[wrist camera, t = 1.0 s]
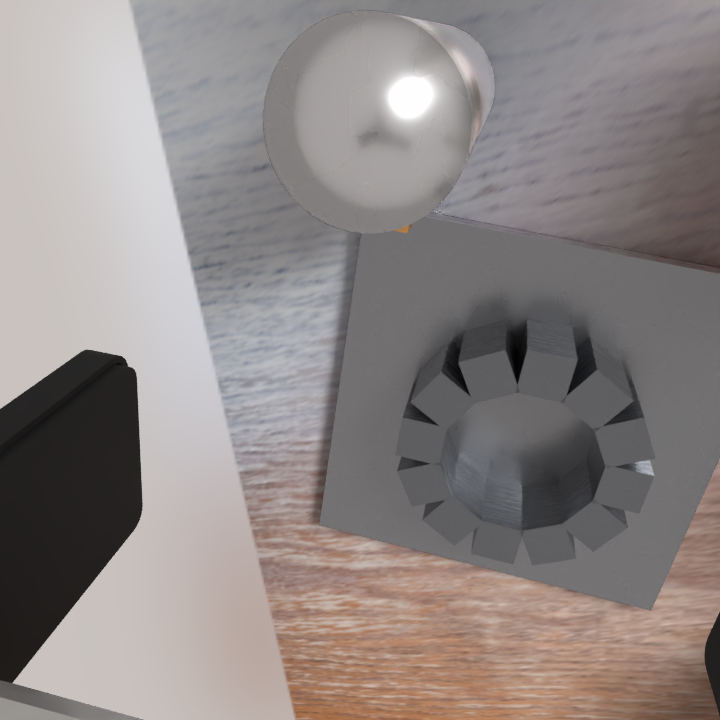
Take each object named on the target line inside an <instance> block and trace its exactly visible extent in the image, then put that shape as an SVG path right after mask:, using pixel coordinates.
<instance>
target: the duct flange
mask: <svg viewBox="0 0 720 720" xmlns="http://www.w3.org/2000/svg"><path fill="white" fill-rule="evenodd" d="M719 459H720V268H718V267H712V266H707V265H702V264H697V263H692V262H686V261H681V260H676V259H671V258H666V257H660V256H655V255H650V254H645V253H640V252H634V251H629V250H624V249H619V248H614V247H608V246H603V245H598V244H593V243H587V242H582V241H577V240H572V239H567V238H561V237H556V236H551V235H546V234H541V233H535V232H530V231H525V230H520V229H515V228H509V227H504V226H499V225H494V224H489V223H483V222H478V221H473V220H468V219H463V218H457V217H452V216H447V215H442V214H436V213H431V212H430V213H428V214H427V215H426V216H424V217H423V218H421V219H419V220H418V221H416V222H414V224H413V226H412V227H411V229H410V231H409V232H408V233H403V232H398V231H389V232H383V233H361V237H360V244H359V251H358V258H357V265H356V272H355V279H354V286H353V293H352V300H351V307H350V314H349V321H348V328H347V335H346V342H345V349H344V356H343V363H342V370H341V376H340V383H339V390H338V397H337V404H336V411H335V418H334V425H333V432H332V439H331V446H330V453H329V460H328V467H327V474H326V481H325V488H324V495H323V502H322V509H321V516H320V523H319V525H321V526H325V527H329V528H333V529H337V530H341V531H344V532H348V533H352V534H356V535H360V536H364V537H368V538H372V539H375V540H379V541H383V542H387V543H391V544H395V545H399V546H402V547H406V548H410V549H414V550H418V551H422V552H426V553H430V554H433V555H437V556H441V557H445V558H449V559H453V560H457V561H461V562H464V563H468V564H472V565H476V566H480V567H484V568H488V569H492V570H495V571H499V572H503V573H507V574H511V575H515V576H519V577H523V578H526V579H530V580H534V581H538V582H542V583H546V584H550V585H554V586H557V587H561V588H565V589H569V590H573V591H577V592H581V593H585V594H588V595H592V596H596V597H600V598H604V599H608V600H612V601H616V602H619V603H623V604H627V605H631V606H635V607H639V608H643V609H647V610H650V611H651V610H652V607H653V605H654V603H655V601H656V599H657V596H658V594H659V592H660V590H661V587H662V585H663V583H664V581H665V579H666V576H667V574H668V572H669V570H670V567H671V565H672V563H673V561H674V559H675V556H676V554H677V552H678V550H679V547H680V545H681V543H682V541H683V539H684V536H685V534H686V532H687V530H688V527H689V525H690V523H691V521H692V519H693V516H694V514H695V512H696V510H697V507H698V505H699V503H700V501H701V499H702V496H703V494H704V492H705V490H706V487H707V485H708V483H709V481H710V479H711V476H712V474H713V472H714V470H715V467H716V465H717V463H718V461H719Z"/></svg>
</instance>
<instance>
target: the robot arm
mask: <svg viewBox="0 0 720 720" xmlns="http://www.w3.org/2000/svg"><path fill="white" fill-rule="evenodd" d="M141 513H142V485H141V463H140V440H139V418H138V396H137V377H136V372H135V370H134V369H133V368H131V367H128V364H127V362H126V360H125V359H124V358H123V357H122V356H118V355H112V354H108V353H103V352H97V351H93V350H84V351H82V352H81V353H79V354H78V355H76V356H75V357H73V358H72V359H71V360H69V361H68V362H66V363H65V364H64V365H62V366H61V367H60V368H58V369H56V370H55V371H54V372H52V373H51V374H49V375H48V376H47V377H45V378H44V379H42V380H41V381H39V382H38V383H37V384H35V385H34V386H32V387H31V388H30V389H28V390H27V391H25V392H24V393H22V394H21V395H20V396H18V397H17V398H15V399H14V400H13V401H11V402H10V403H8V404H7V405H6V406H4V407H3V408H1V409H0V720H142V719H139V718H135V717H132V716H128V715H124V714H121V713H117V712H113V711H110V710H106V709H102V708H99V707H96V706H92V705H88V704H84V703H81V702H78V701H74V700H70V699H67V698H63V697H59V696H56V695H52V694H49V693H45V692H41V691H38V690H34V689H31V688H27V687H24V686H20V685H16V684H13V681H14V680H15V679H16V678H17V676H18V675H19V674H20V673H21V671H22V670H23V668H25V666H26V665H27V664H28V662H29V661H30V660H31V659H32V657H33V656H34V655H35V654H36V652H37V651H38V650H39V648H40V647H41V646H42V645H43V644H44V642H45V641H46V640H47V639H48V637H49V636H50V635H51V634H52V632H53V631H54V630H55V629H56V627H57V626H58V625H59V624H60V622H61V621H62V620H63V619H64V617H65V616H66V615H67V614H68V612H69V611H70V610H71V609H72V607H73V606H74V605H75V603H76V602H77V601H78V600H79V598H80V597H81V596H82V595H83V593H84V592H85V591H86V590H87V588H88V587H89V586H90V585H91V583H92V582H93V581H94V580H95V578H96V577H97V576H98V574H99V573H100V572H101V571H102V570H103V568H104V567H105V566H106V565H107V563H108V562H109V561H110V560H111V558H112V557H113V556H114V555H115V553H116V552H117V551H118V550H119V548H120V547H121V546H122V544H123V543H124V542H125V540H126V539H127V538H128V537H129V536H130V534H131V533H132V532H133V531H134V529H135V528H136V526H137V524H138V522H139V520H140V517H141ZM705 664H706V669H707V673H708V676H709V680H710V683H711V687H712V690H713V694H714V697H715V701H716V704H717V708H718V711H719V715H720V613H719V615H718V617H717V619H716V621H715V623H714V626H713V628H712V630H711V632H710V634H709V636H708V639H707V642H706V647H705Z"/></svg>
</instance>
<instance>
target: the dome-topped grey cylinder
mask: <svg viewBox="0 0 720 720" xmlns="http://www.w3.org/2000/svg"><path fill="white" fill-rule="evenodd" d="M494 93H495V80H494V73H493V69H492V65H491V63H490V60H489V58H488V56H487V54H486V52H485V50H484V49H483V48H482V46H481V45H480V44H479V43H478V42H477V41H476V40H475V39H474V38H473V37H472V36H471V35H469V34H468V33H466V32H465V31H463V30H461V29H459V28H456V27H454V26H450V25H445V24H441V23H436V22H431V21H426V20H421V19H416V18H411V17H406V16H401V15H396V14H392V13H387V12H382V11H371V10H359V11H349V12H345V13H341V14H337V15H334V16H331V17H329V18H326V19H324V20H322V21H320V22H318V23H317V24H315V25H313V26H311V27H310V28H309V29H307V30H306V31H305V32H304V33H302V34H301V35H300V36H299V37H298V38H297V39H296V40H295V41H294V42H293V43H292V44H291V45H290V46H289V47H288V49H287V50H286V51H285V53H284V54H283V56H282V57H281V59H280V60H279V62H278V64H277V66H276V68H275V69H274V72H273V74H272V77H271V79H270V82H269V85H268V89H267V93H266V97H265V104H264V111H263V127H264V136H265V142H266V147H267V151H268V155H269V158H270V160H271V163H272V166H273V168H274V170H275V172H276V174H277V176H278V178H279V180H280V182H281V183H282V185H283V186H284V188H285V189H286V191H287V192H288V193H289V194H290V195H291V197H292V198H293V199H294V200H295V201H296V202H297V203H298V204H299V205H300V206H301V207H302V208H303V209H304V210H306V211H307V212H308V213H310V214H311V215H312V216H314V217H315V218H317V219H319V220H320V221H322V222H324V223H326V224H328V225H331V226H333V227H335V228H338V229H342V230H345V231H349V232H356V233H383V232H389V231H398V232H403V233H408V232H409V231H410V229H411V227H412V226H413V224H414V222H416V221H418V220H419V219H421V218H423V217H424V216H426V215H427V214H428V213H430V212H431V211H432V210H433V209H435V208H436V207H437V206H438V205H439V204H440V203H441V202H442V201H443V200H444V199H445V197H446V196H447V195H448V193H449V192H450V191H451V189H452V188H453V186H454V185H455V183H456V181H457V179H458V178H459V176H460V174H461V172H462V170H463V168H464V165H465V163H466V161H467V159H468V157H469V155H470V153H471V151H472V149H473V147H474V145H475V143H476V140H477V138H478V136H479V134H480V132H481V130H482V128H483V126H484V124H485V122H486V120H487V118H488V115H489V113H490V110H491V107H492V104H493V100H494Z"/></svg>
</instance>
